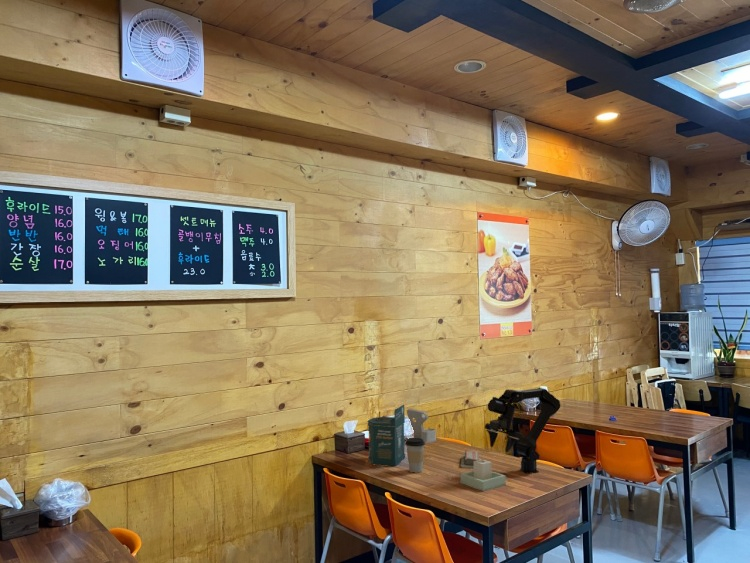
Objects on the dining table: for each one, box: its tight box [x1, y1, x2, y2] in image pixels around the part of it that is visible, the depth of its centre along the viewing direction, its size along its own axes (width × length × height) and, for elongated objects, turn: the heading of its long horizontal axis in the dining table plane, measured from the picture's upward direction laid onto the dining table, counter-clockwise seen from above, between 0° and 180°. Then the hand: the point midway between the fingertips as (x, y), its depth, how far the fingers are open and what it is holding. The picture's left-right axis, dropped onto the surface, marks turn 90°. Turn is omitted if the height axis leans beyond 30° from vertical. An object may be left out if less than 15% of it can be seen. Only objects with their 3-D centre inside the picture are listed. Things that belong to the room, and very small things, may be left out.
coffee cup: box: [404, 438, 426, 474], centre depth 273 cm, size 9×9×15 cm
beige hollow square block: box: [473, 458, 493, 480], centre depth 252 cm, size 6×6×9 cm
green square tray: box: [459, 470, 507, 492], centre depth 252 cm, size 14×14×4 cm
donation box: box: [367, 404, 406, 467], centre depth 291 cm, size 16×16×28 cm
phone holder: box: [406, 408, 437, 444], centre depth 336 cm, size 17×10×18 cm, turn 40°
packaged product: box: [460, 450, 482, 469], centre depth 285 cm, size 18×5×10 cm
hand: (498, 449), depth 263 cm, fingers open, 9 cm apart
